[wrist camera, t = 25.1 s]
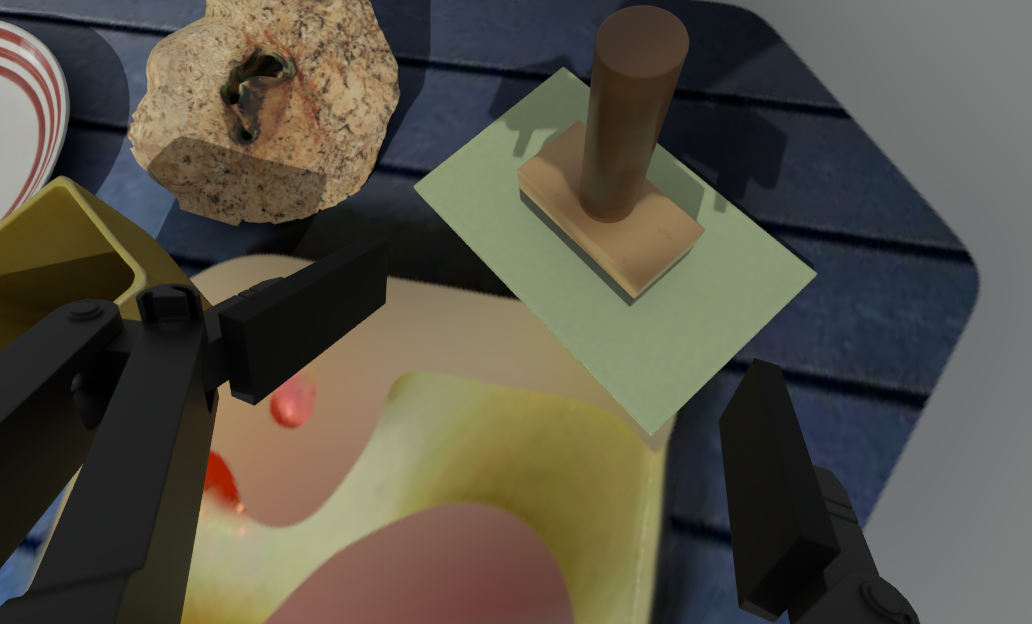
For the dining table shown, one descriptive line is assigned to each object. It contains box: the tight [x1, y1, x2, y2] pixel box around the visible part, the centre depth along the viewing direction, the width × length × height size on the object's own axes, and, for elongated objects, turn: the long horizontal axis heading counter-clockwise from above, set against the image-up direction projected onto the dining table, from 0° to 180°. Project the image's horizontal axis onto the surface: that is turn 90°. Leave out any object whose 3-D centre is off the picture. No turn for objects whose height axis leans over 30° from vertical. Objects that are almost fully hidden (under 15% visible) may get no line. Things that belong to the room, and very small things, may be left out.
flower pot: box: [0, 176, 213, 383], centre depth 26 cm, size 9×9×9 cm
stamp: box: [517, 6, 705, 306], centre depth 23 cm, size 10×5×14 cm, turn 41°
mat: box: [414, 67, 817, 435], centre depth 30 cm, size 22×14×1 cm, turn 42°
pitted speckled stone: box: [127, 0, 401, 227], centre depth 32 cm, size 18×14×8 cm
